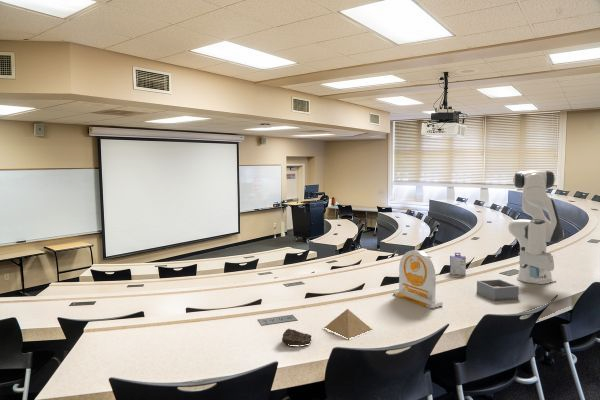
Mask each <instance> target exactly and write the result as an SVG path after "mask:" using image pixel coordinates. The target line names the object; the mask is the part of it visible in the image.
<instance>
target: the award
mask: <svg viewBox="0 0 600 400" xmlns="http://www.w3.org/2000/svg"><path fill="white" fill-rule="evenodd" d="M398 269H399V271H398V272H399V273H398V276H399V279H398V290H393V292H392V293H393V294H395V295H397V296H399V297H398V298H400V297H401V298H400V299H403V298H404V299H403V300H405V299H407V300H406V301H408V300H410V301H409V302H411V301H412V303H414V302H415V303H414V304H416V303H417V305H419V304H420V306H422V305H423V306H422V307H424V308H427V307H428V309H430V308H433V309H436V308H435V307H437V308H440V307H439V306H442V307H443V303H444V302H442V301H440V300H438V299H436V286H437V285H436V278H437V277H436V274H437V273H436V269H435V266H434V263H433V262H432V260H431V258H430V257H429V256H428V255H427V254H426V253H425V252H424V251H421V250H418V249H412V250H409V251H407V252H405V253H404V254H403V255H402V257H401V258H400V261H399V267H398ZM393 294H392V295H393ZM395 295H394V296H395ZM397 296H396V297H397Z"/></svg>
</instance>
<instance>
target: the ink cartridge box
mask: <svg viewBox="0 0 600 400" xmlns="http://www.w3.org/2000/svg"><path fill="white" fill-rule="evenodd" d="M466 264H467V257H466V256H465V255H461V252H454V255H449V274H450V275H454V274H458V275H459V276H460V275H461V276H466V275H467V273H466V270H467V265H466ZM458 275H457V276H458Z"/></svg>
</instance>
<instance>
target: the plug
mask: <svg viewBox="0 0 600 400" xmlns="http://www.w3.org/2000/svg"><path fill="white" fill-rule="evenodd" d="M539 271H540V270H539V268H536V267H533V266H530V279H531V280H534V281H542V277H539V276H537V275H538V274H537V273H539Z"/></svg>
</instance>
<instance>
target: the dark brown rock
mask: <svg viewBox="0 0 600 400" xmlns="http://www.w3.org/2000/svg"><path fill="white" fill-rule="evenodd" d="M311 339H312V335H311V334H308V333H303V332H300V331H299V330H295V329H292V328H287V329H286V330H285V331H284V332H283V334H282V338H281V342H282V343H283V344H284V345H287V344H289V345H305V344H309V343H310V344H311V342H312V340H311ZM310 341H311V342H310ZM305 346H306V345H305Z"/></svg>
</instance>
